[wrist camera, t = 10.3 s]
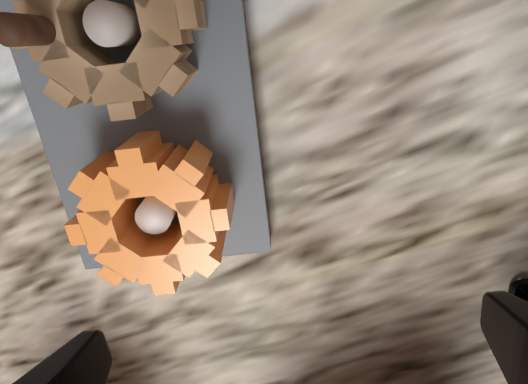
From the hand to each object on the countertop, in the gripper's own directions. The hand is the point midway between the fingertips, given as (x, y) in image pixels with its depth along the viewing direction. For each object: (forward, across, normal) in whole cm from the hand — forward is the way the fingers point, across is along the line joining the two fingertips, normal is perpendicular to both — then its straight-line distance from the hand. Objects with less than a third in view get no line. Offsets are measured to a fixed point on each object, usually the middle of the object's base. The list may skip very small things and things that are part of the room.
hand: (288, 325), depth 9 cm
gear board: (+12, +6, -4) cm, 13 cm away
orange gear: (+10, +6, 0) cm, 12 cm away
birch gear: (+10, +6, -8) cm, 14 cm away
